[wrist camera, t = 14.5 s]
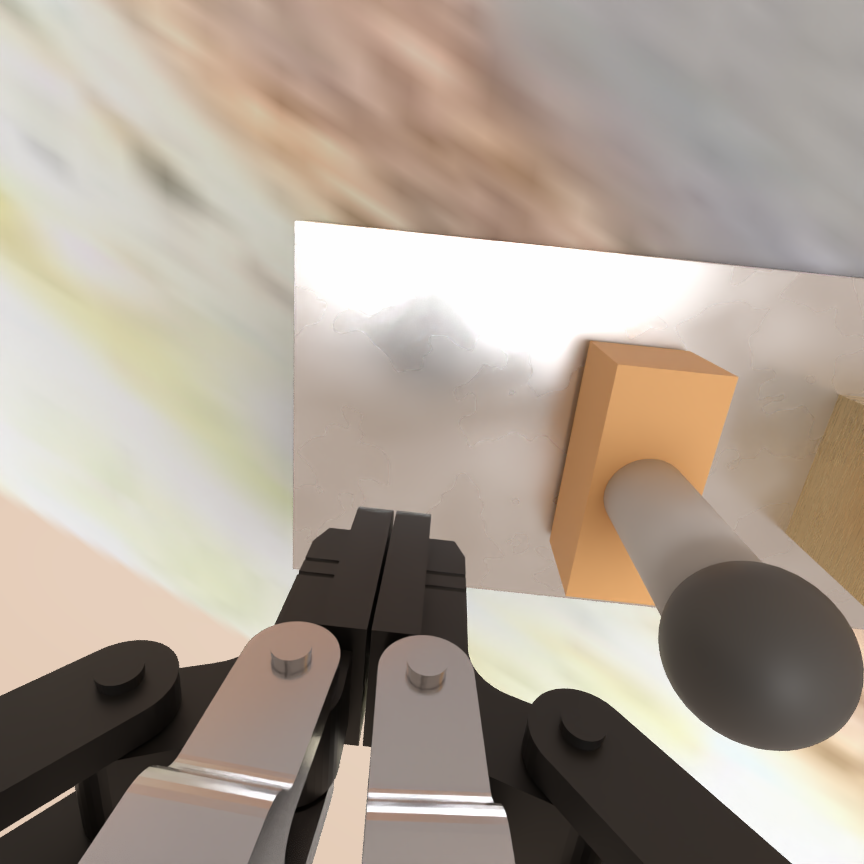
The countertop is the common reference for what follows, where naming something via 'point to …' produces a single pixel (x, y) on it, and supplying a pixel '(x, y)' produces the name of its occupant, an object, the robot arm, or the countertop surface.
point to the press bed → (544, 386)
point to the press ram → (694, 554)
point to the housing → (836, 499)
